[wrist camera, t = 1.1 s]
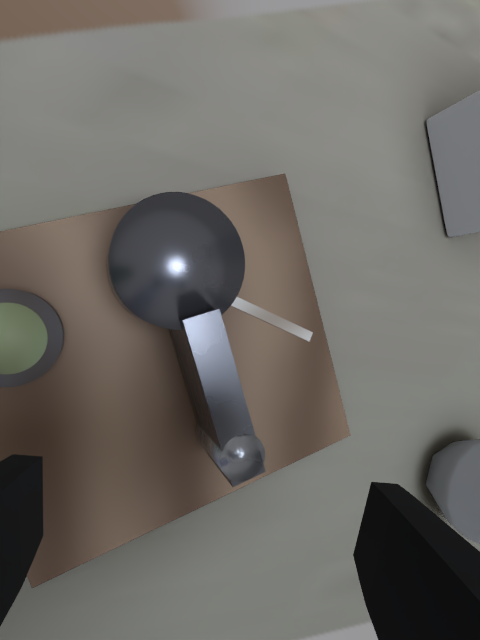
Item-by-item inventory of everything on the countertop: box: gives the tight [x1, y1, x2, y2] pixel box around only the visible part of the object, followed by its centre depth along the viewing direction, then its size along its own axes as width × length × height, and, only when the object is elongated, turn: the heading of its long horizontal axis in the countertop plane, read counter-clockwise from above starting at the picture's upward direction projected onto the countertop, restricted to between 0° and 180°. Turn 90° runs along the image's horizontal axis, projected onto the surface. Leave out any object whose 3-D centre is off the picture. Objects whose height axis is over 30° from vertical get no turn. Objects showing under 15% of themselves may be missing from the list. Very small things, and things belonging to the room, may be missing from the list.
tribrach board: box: [0, 174, 350, 588], centre depth 18 cm, size 16×14×2 cm
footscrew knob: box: [107, 192, 266, 487], centre depth 16 cm, size 11×5×4 cm, turn 17°
